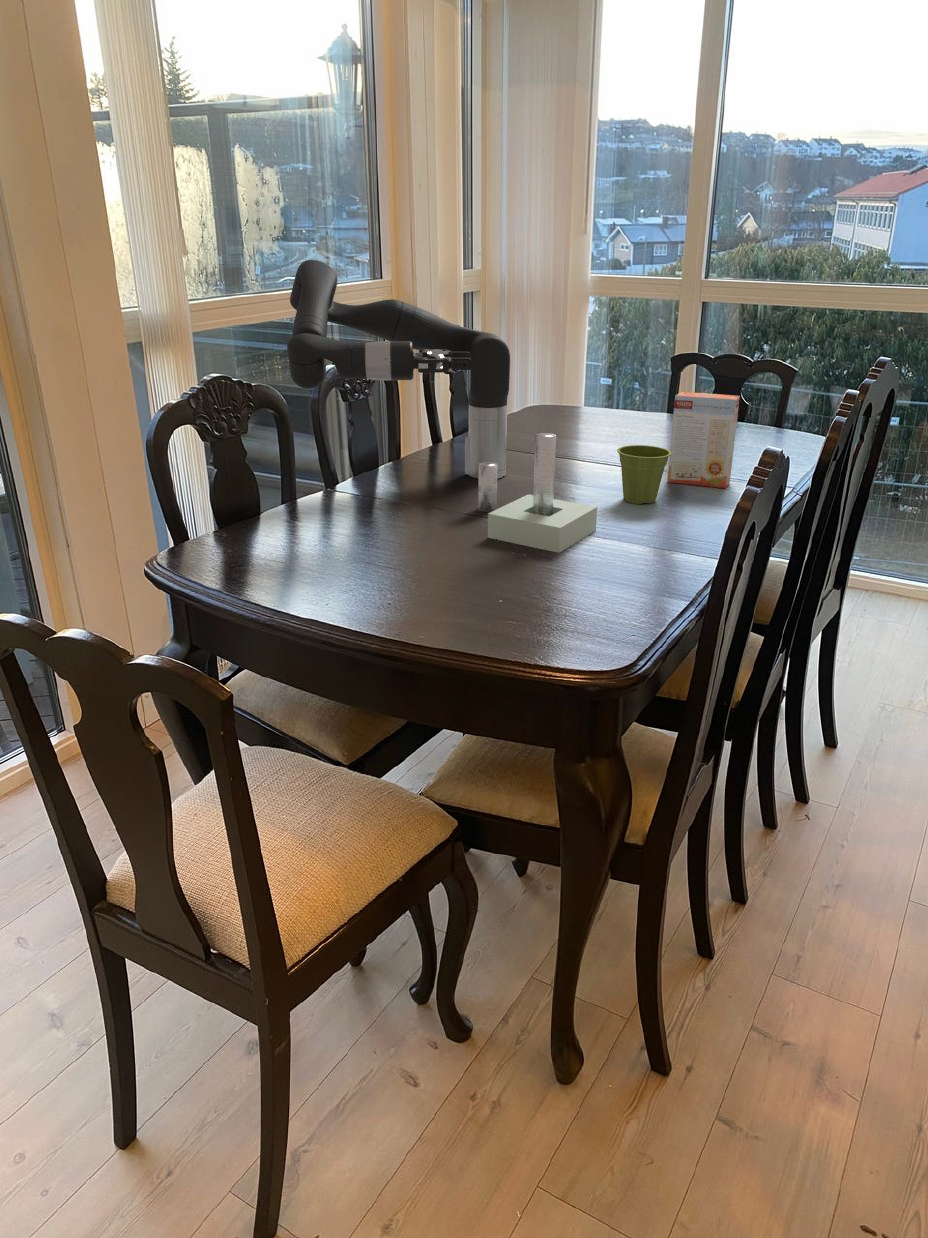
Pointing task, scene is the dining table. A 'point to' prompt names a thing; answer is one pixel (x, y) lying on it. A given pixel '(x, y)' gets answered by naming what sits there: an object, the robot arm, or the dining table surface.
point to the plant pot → (642, 472)
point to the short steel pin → (487, 487)
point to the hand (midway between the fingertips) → (470, 360)
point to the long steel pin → (544, 474)
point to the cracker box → (703, 439)
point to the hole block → (542, 524)
